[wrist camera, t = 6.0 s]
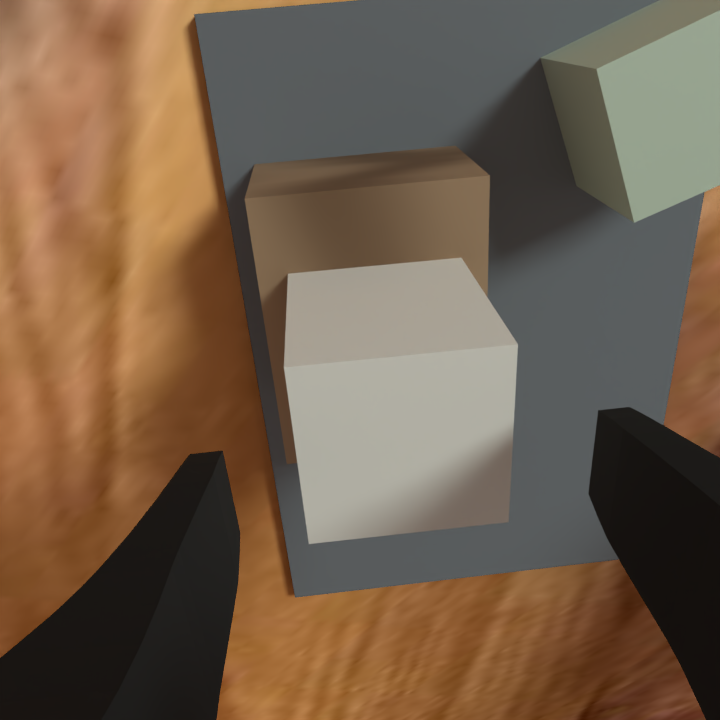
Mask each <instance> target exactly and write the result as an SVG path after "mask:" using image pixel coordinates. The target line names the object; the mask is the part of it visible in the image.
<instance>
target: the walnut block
mask: <svg viewBox="0 0 720 720" xmlns="http://www.w3.org/2000/svg"><path fill="white" fill-rule="evenodd" d="M489 196H490V175H489V174H488V173H487V172H485V171H484V170H483V169H482V168H481V167H480V166H478V165H477V164H476V163H475V162H474V161H473V160H472V159H470V158H469V157H468V156H467V155H466V154H465V153H464V152H462V151H461V150H460V149H459V148H458V147H457V146H446V147H435V148H425V149H414V150H403V151H392V152H382V153H371V154H360V155H349V156H339V157H328V158H317V159H306V160H295V161H285V162H274V163H263V164H255V165H254V168H253V172H252V175H251V178H250V182H249V185H248V189H247V192H246V196H245V204H246V211H247V217H248V223H249V229H250V236H251V242H252V248H253V255H254V261H255V267H256V273H257V280H258V286H259V292H260V299H261V305H262V311H263V317H264V324H265V330H266V336H267V343H268V349H269V355H270V361H271V368H272V374H273V380H274V387H275V393H276V399H277V405H278V412H279V418H280V424H281V431H282V437H283V443H284V449H285V456H286V462H287V464H292V463H297V457H296V450H295V443H294V436H293V428H292V421H291V414H290V407H289V400H288V393H287V386H286V379H285V372H284V353H285V330H286V307H287V285H288V274H291V273H302V272H312V271H323V270H334V269H345V268H355V267H366V266H377V265H387V264H398V263H409V262H420V261H430V260H441V259H452V258H462V259H463V261H464V262H465V264H466V265H467V267H468V269H469V270H470V272H471V273H472V275H473V276H474V278H475V279H476V281H477V282H478V284H479V285H480V287H481V288H482V290H483V291H484V293H485V295H486V296H487V295H488V245H489Z"/></svg>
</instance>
